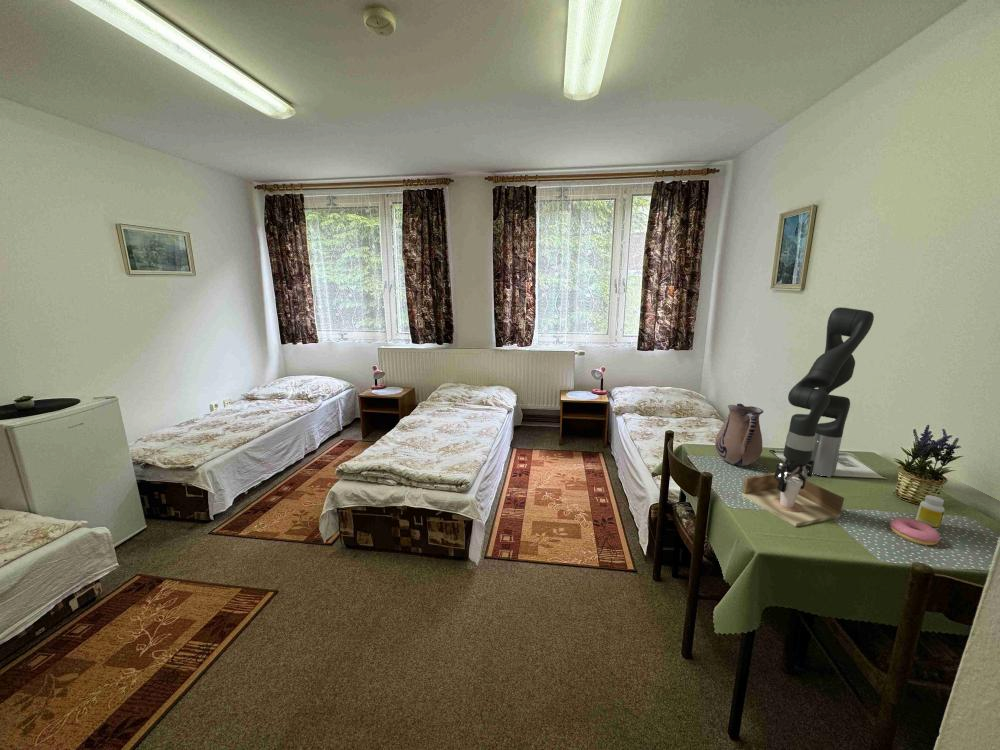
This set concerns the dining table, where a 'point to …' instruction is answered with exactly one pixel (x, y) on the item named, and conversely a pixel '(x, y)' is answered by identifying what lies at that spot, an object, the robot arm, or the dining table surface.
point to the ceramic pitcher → (740, 436)
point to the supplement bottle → (931, 511)
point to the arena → (807, 507)
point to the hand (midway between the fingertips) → (790, 489)
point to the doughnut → (915, 531)
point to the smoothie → (790, 492)
